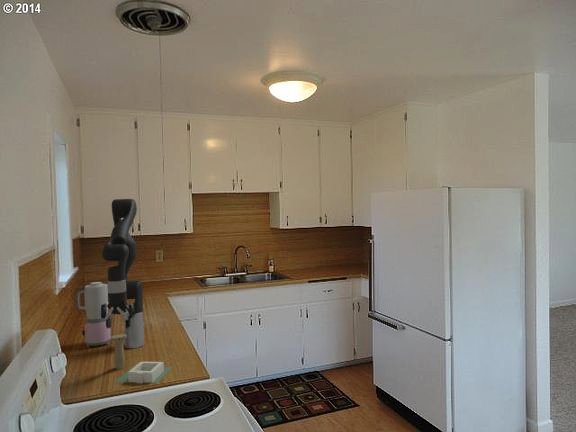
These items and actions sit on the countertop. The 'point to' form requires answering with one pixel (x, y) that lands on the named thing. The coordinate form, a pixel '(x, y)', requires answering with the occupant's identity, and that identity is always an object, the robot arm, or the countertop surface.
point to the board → (125, 379)
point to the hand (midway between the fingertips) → (118, 327)
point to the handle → (119, 350)
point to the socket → (146, 372)
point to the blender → (95, 314)
